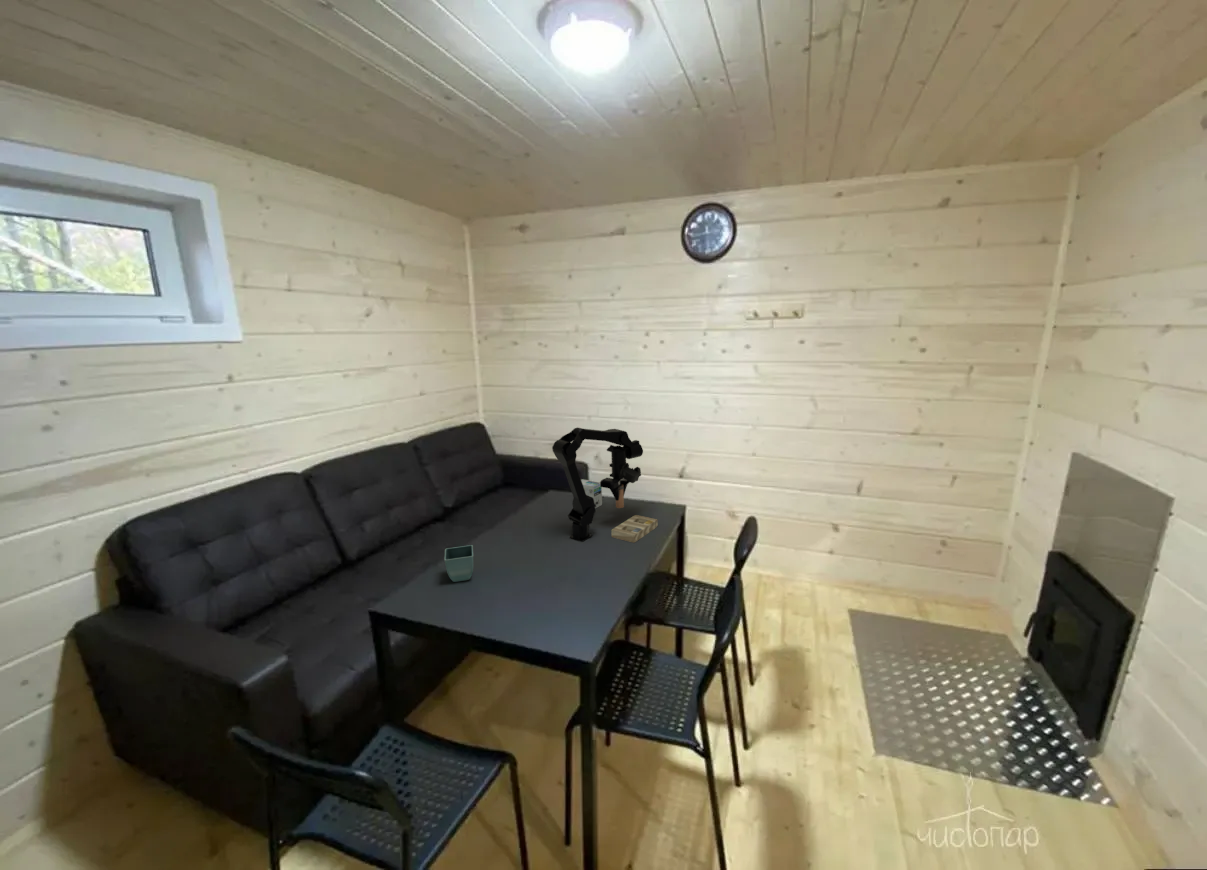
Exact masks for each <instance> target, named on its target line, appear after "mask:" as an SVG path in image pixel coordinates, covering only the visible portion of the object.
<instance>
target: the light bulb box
mask: <svg viewBox="0 0 1207 870" xmlns="http://www.w3.org/2000/svg"><path fill="white" fill-rule="evenodd" d="M581 481H582V484H583V487H584V490H585V493H586V495H588V496H590V497H593V499H594V504H595V505H596V507H595V509H597V508H599V507H601V506H602V505H603V494H602V493H603V491H602V490H603V489H602V488H603V487H600V481H595V480H588V479H585V478H583V479H582V478H581Z"/></svg>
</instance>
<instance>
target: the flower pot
mask: <svg viewBox="0 0 1207 870" xmlns="http://www.w3.org/2000/svg"><path fill="white" fill-rule="evenodd" d="M443 558H444V565H445V569H446V573H447V575H448V577H449V579H450V580H451V581H452V582H453V583H457V582H463V581H464V582H465V581H468V580H471V577H472V575H473V572H474V545H473V544H471V545H469V544H468V545H463V546H456V547H447V548H445V549H444V557H443Z"/></svg>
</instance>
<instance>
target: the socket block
mask: <svg viewBox="0 0 1207 870" xmlns="http://www.w3.org/2000/svg"><path fill="white" fill-rule="evenodd" d="M658 523H659V521H658V519H657V518H651V517H647V516H643V515H638V514H635V515H633V516H632V517H629V518H628V519H627V520H624V522H622V523H620V524H618V525H617V526H615V527H613V528H612V529H611V538H614V539H617V540H622V541H625V542H630V543H634V544H635V543H636V542H638V541H639V540H640V539H643V537H646V535H648V534H649V533H651V532H652V531H653V530H655V529H656V528H657V527H658Z"/></svg>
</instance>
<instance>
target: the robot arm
mask: <svg viewBox="0 0 1207 870" xmlns="http://www.w3.org/2000/svg"><path fill="white" fill-rule="evenodd" d="M585 440H588V441H589V440H591V441H600V442H601V441H602V442H608V443H611V444H610V445H609V447H607V449H606V451H607V452H609V453H611V454H610V455H611V463H609V468H610V467H611V473H610V474H609V477H605V478H602V479H601V480H600V481H599V482H600V487H602V488H605V489H609V490H610V491H611V493H612V495H613V497H614V499H615V501H616V500H617V501H618V500H619V491H620V488H621V487H622V485H620V484H623V486H624V495H625V493H626V489H627V487H628V485H629V484H634V483H635V482H638V480H639V479H640V477H641V476H642V474H641V473H642V471H641V468H640V467H639V466H636V467H635V468H633V467H632V468H631V467H630V464H629V462H627V460H631V459H636V458H639V457H642V456H643V454H644V449H643V446H642V445H641V443H640V441H639V440H637V439H635V440H631V439H630V437H629V434H628V432H627V431H626V430H621V429H619V428H609V429H606V430H598V429H592V428H591V429H590V428H589V429H588V428H581V427H574V428H573V429H572V430H571V431H570V432H568V433H567V434H564V435H562V436H561V437H560V438H559V439H557V440H556V441H555V442H554V443H553V445H552V447H551V449H552V452H553V454H554V455H555V458H556V459H557V460H558V461H559V463H560V464H561V465H562V468H563V470H564V474H565V477H566V479H567V483H568V485H569V488H570V491H571V494H572V496H573V499H572V509H571V510H570V512H569V513H568V515H567V517H568V520H569V521H571V522H572V523H571V527H572V528H571V529H572V535H570V536H569V539H572V540H575V541H580V542H584V541H587V539H589V538H591V537H592V536H593V533H590V525H591V524H593V520H594V516H595V513H596V508H595V507H596V505H595V504H594V499H593V497H590V496H588V495H586V493H585V490H584V487H583V484H582V481H581V480H582V478H581V476H580V473H579V469H578V466H577V464H576V461H577V460H576V459H577V451H578V450H579V449H580V447H581V446H582V444H583V442H584V441H585ZM613 444H614V445H613Z"/></svg>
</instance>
